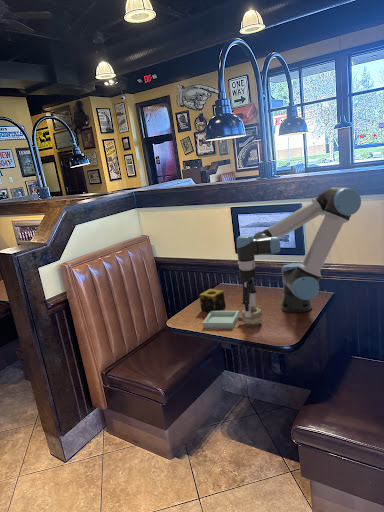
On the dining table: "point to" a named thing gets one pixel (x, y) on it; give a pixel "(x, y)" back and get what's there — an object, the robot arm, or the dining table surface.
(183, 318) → the dining table surface
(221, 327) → the tray
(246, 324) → the grey peg stand
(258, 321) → the ring
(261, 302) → the dining table surface
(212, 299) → the yellow cube with holes
